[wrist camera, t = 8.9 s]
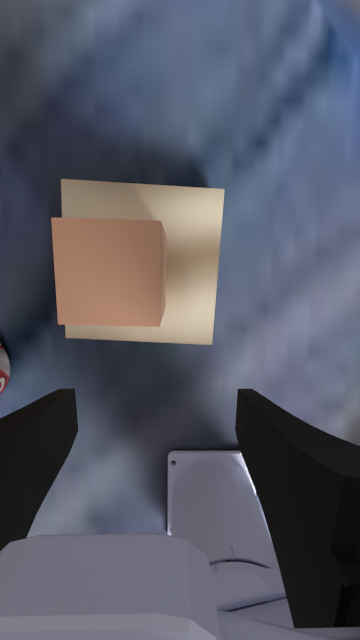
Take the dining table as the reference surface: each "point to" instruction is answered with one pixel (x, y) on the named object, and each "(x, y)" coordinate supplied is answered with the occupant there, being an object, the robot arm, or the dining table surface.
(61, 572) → the robot arm
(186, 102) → the dining table surface
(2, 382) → the soda can
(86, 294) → the terracotta block
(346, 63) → the dining table surface
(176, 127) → the dining table surface
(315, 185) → the dining table surface
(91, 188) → the birch base
